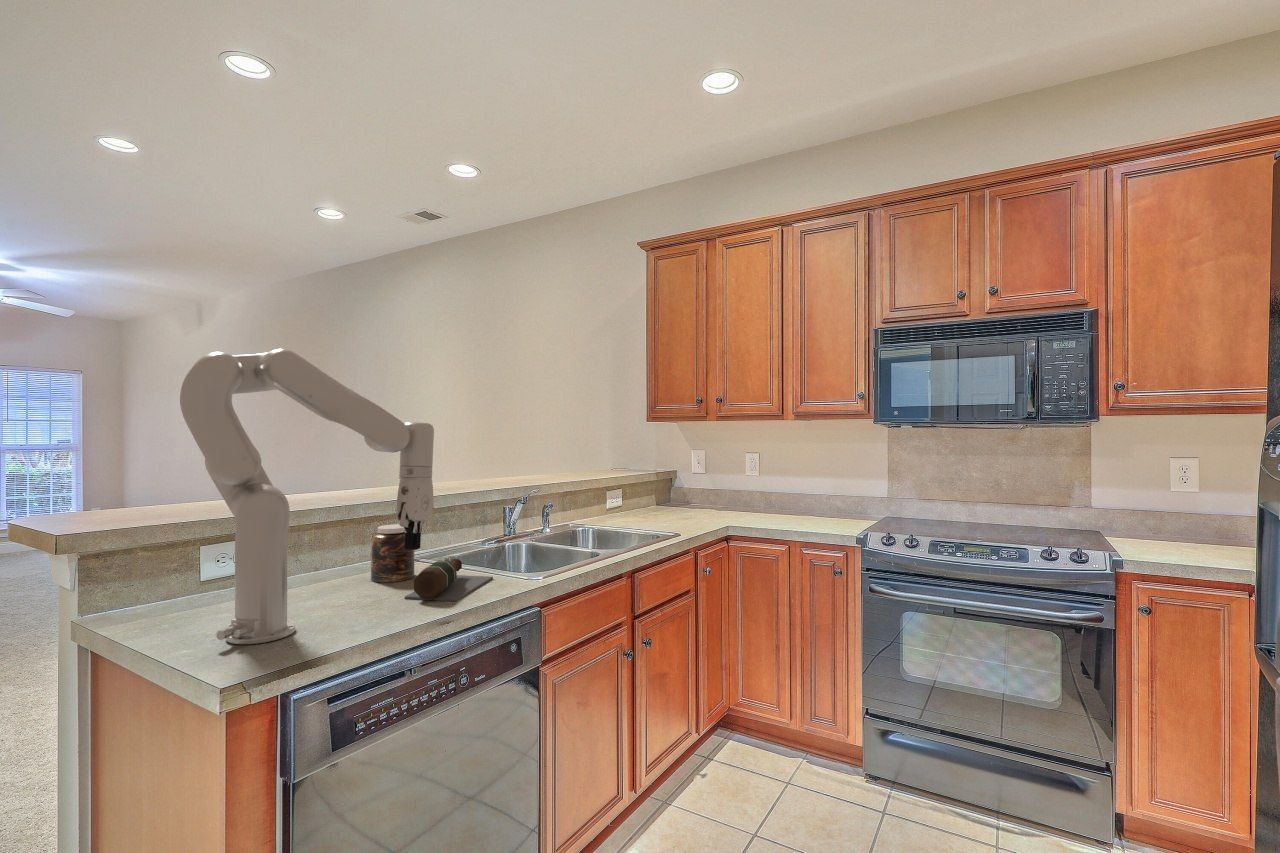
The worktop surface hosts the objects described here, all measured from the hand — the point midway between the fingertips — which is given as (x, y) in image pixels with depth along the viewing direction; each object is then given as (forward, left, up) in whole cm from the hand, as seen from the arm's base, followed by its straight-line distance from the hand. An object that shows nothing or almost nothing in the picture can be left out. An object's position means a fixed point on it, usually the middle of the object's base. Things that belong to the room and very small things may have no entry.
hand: (412, 548), depth 153 cm
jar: (+28, +21, -15) cm, 38 cm away
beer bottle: (+6, -1, -10) cm, 12 cm away
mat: (+20, -1, -15) cm, 24 cm away
